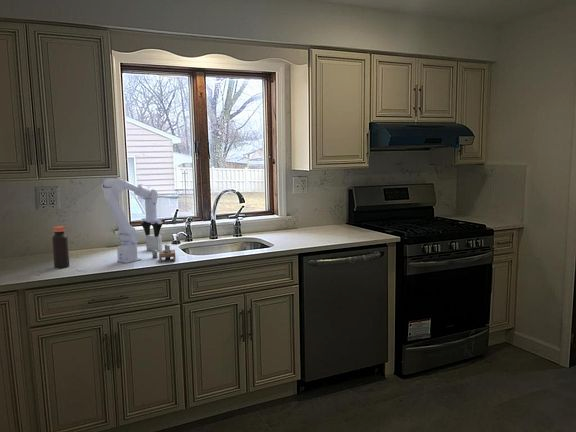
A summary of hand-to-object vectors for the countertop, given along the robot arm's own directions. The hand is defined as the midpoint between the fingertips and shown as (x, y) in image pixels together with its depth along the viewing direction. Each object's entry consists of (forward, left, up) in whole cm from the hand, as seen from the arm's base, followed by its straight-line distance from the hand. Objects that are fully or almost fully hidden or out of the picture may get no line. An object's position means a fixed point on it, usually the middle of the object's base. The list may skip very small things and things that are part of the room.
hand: (152, 235), depth 258 cm
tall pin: (-5, -18, -10) cm, 21 cm away
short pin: (-5, -8, -10) cm, 14 cm away
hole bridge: (-5, -18, -10) cm, 21 cm away
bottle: (-44, +14, -11) cm, 47 cm away
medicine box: (+9, +10, -11) cm, 17 cm away
